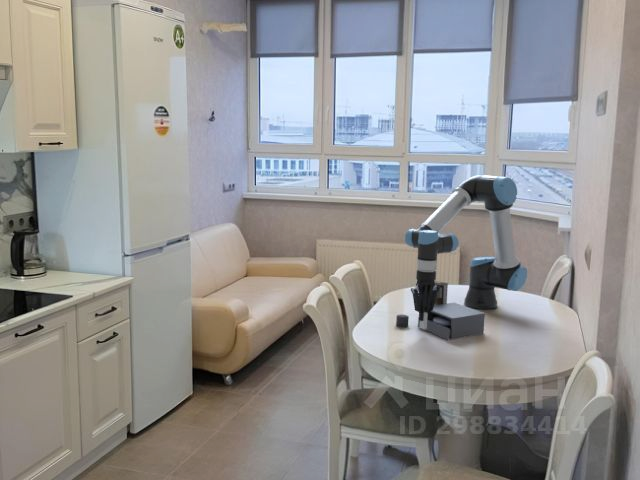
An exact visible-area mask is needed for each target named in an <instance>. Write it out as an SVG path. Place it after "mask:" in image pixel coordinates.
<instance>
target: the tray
mask: <svg viewBox="0 0 640 480" xmlns="http://www.w3.org/2000/svg"><path fill="white" fill-rule="evenodd" d="M419 326H420V320H419V316H418V321H417V327H418V328H419ZM423 330H424V331H427V332H429V333H431V334H433V335H436V336H438V337H441V338H442V339H445V340H450V339H449V336H450V331H451V325H450V326H442V325H440V324H437V323H435V322H433V320H427V329H423Z"/></svg>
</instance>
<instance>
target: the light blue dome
mask: <svg viewBox="0 0 640 480" xmlns="http://www.w3.org/2000/svg"><path fill="white" fill-rule="evenodd" d="M433 322H435V323H437V324H440V325H442V326H450V325H451V320H450V319H448V318H445V317H443V316H437V317H434V318H433Z"/></svg>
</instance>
